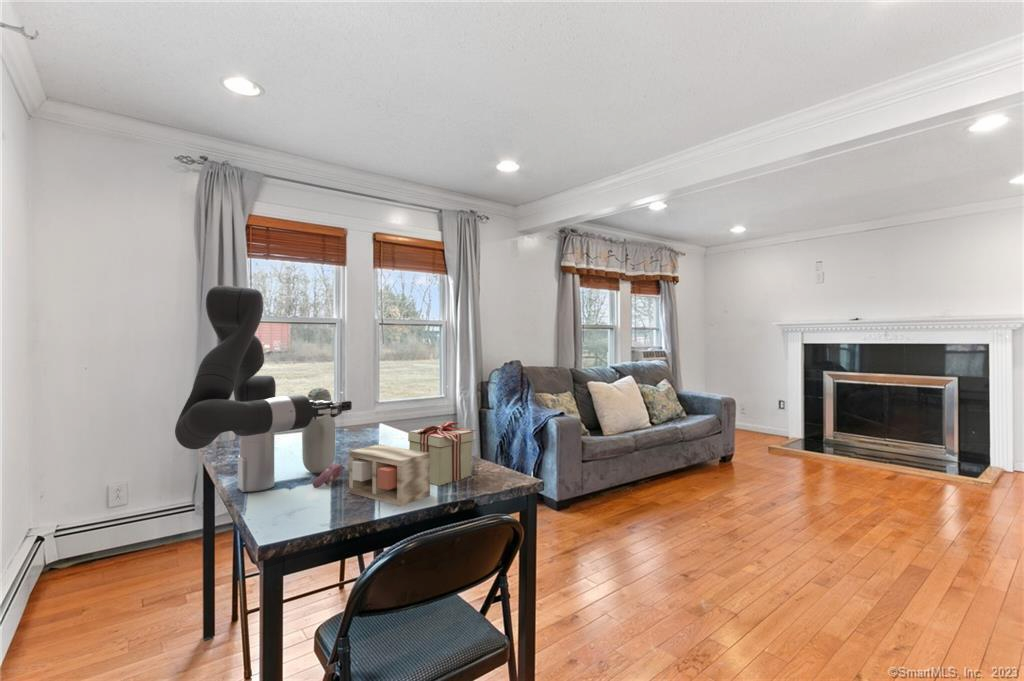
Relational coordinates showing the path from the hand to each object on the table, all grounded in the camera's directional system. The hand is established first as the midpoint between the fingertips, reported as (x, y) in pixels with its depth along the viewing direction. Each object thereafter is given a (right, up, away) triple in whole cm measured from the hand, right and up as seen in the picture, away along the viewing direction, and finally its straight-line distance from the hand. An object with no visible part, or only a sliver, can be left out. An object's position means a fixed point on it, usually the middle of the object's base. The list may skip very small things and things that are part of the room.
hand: (349, 405), depth 121 cm
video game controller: (-16, -28, +29) cm, 43 cm away
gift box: (+19, -28, +36) cm, 49 cm away
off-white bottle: (-24, -28, +42) cm, 56 cm away
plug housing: (+5, -28, +18) cm, 34 cm away
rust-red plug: (+8, -23, +12) cm, 27 cm away
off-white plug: (-1, -23, +20) cm, 31 cm away
